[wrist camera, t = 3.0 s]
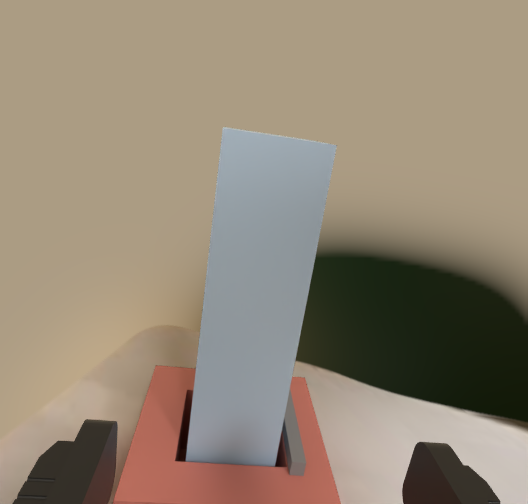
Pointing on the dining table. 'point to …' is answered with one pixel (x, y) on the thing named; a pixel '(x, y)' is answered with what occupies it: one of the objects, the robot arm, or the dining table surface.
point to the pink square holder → (221, 475)
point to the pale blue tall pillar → (255, 292)
